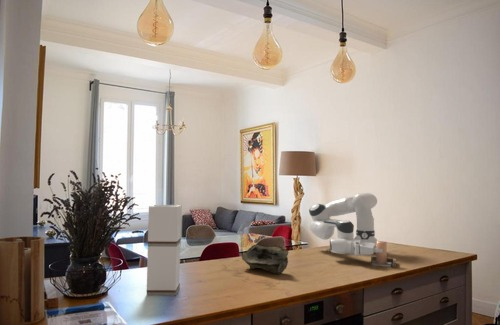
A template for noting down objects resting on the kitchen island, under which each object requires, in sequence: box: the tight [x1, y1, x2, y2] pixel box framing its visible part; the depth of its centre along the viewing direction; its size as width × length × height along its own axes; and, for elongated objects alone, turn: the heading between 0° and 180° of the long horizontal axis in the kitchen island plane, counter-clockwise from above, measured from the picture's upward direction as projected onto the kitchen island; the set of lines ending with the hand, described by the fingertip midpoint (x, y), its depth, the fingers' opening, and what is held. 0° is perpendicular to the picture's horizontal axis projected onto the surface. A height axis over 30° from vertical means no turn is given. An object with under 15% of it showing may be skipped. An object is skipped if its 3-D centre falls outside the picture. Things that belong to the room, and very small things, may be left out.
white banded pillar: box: [146, 204, 182, 297], centre depth 153 cm, size 11×11×35 cm
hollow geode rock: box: [241, 243, 289, 275], centre depth 191 cm, size 28×13×15 cm
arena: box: [370, 256, 397, 269], centre depth 210 cm, size 14×14×2 cm
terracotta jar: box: [375, 240, 388, 265], centre depth 209 cm, size 6×6×12 cm
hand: (383, 249), depth 209 cm, fingers open, 8 cm apart
